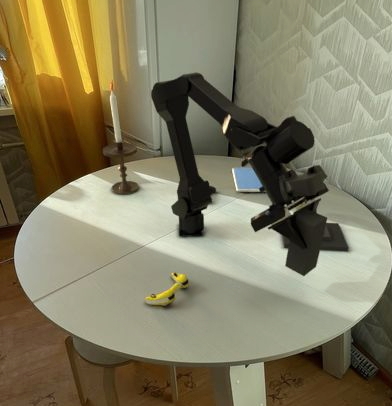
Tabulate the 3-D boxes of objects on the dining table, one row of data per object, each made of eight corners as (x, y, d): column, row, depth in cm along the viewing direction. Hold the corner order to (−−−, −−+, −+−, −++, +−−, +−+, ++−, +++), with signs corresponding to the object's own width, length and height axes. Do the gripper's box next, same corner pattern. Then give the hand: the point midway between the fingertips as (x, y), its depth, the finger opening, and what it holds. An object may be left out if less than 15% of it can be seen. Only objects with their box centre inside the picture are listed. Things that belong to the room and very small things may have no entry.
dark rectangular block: (284, 266, 74) (293, 216, 67) (297, 257, 77) (306, 208, 70) (303, 276, 71) (314, 226, 64) (316, 266, 74) (327, 217, 67)
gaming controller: (213, 202, 111) (200, 189, 109) (201, 211, 114) (188, 199, 112) (218, 189, 119) (205, 176, 117) (206, 198, 122) (194, 186, 120)
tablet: (231, 170, 134) (231, 167, 133) (264, 170, 134) (265, 166, 133) (236, 193, 118) (236, 189, 117) (273, 192, 118) (274, 189, 117)
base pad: (284, 247, 92) (285, 239, 90) (280, 223, 102) (281, 215, 100) (347, 251, 90) (350, 242, 89) (337, 226, 100) (339, 218, 99)
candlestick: (125, 179, 128) (111, 75, 109) (147, 187, 123) (137, 78, 104) (102, 190, 121) (83, 81, 102) (125, 199, 116) (109, 85, 96)
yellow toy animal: (171, 311, 72) (164, 297, 71) (149, 309, 76) (143, 296, 75) (196, 284, 79) (191, 270, 78) (175, 283, 83) (170, 270, 82)
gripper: (269, 168, 58) (316, 251, 57) (329, 142, 68) (369, 212, 68) (232, 195, 67) (272, 267, 67) (289, 168, 78) (324, 230, 77)
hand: (311, 243), depth 69 cm, fingers closed on dark rectangular block, 4 cm apart
